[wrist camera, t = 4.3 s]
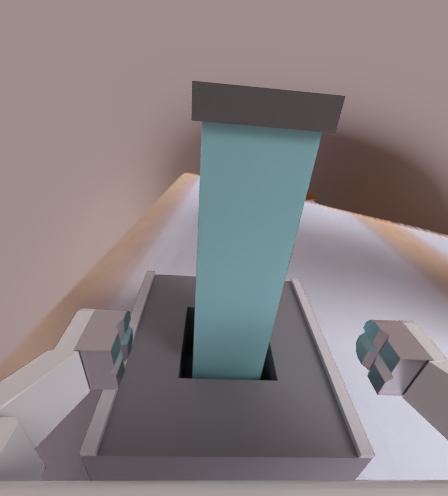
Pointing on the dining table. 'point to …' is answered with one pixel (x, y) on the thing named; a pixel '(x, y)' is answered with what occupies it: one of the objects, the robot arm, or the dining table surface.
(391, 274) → the dining table surface
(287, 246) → the plug
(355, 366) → the dining table surface
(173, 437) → the grey socket base
